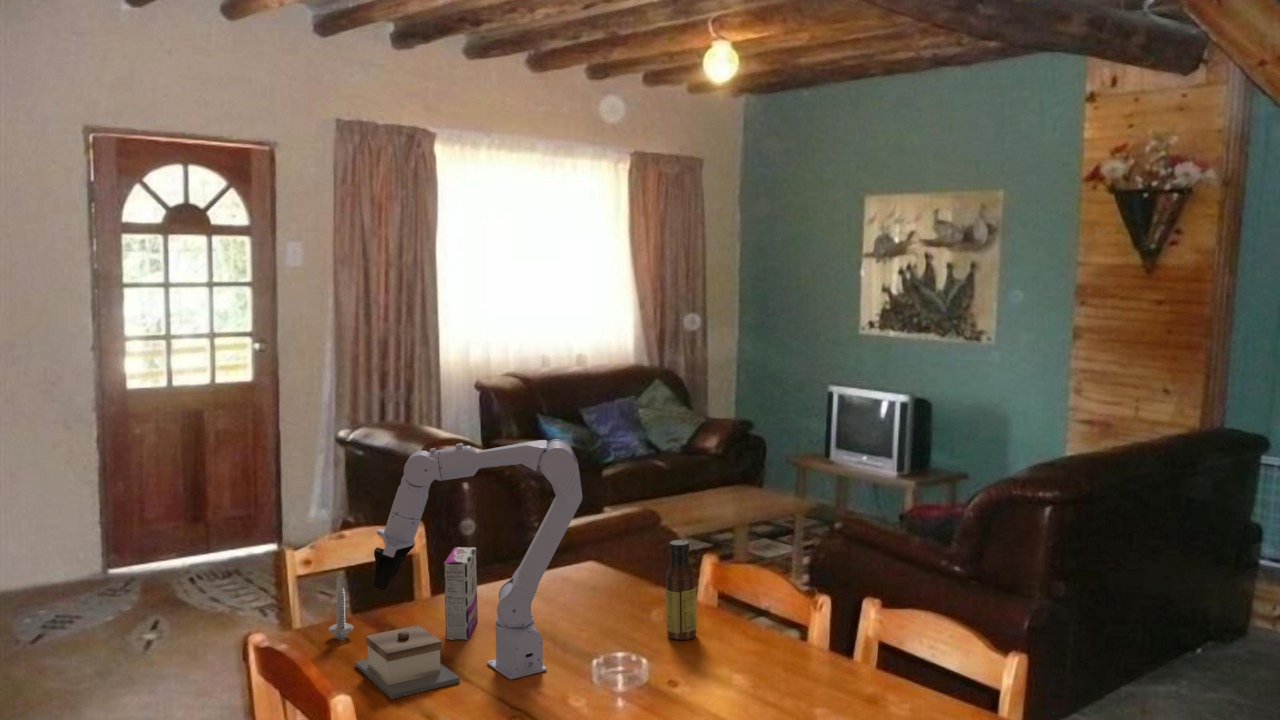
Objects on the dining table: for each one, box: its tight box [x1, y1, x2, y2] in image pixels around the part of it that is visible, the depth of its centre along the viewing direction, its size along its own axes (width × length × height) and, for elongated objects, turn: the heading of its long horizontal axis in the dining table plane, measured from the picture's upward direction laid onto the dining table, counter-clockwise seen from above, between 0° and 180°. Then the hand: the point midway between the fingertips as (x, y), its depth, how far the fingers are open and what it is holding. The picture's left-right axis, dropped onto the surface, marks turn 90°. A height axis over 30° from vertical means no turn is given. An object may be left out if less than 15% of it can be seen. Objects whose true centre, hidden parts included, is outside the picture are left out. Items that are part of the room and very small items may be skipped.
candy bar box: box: [443, 546, 479, 641], centre depth 218 cm, size 11×5×16 cm, turn 179°
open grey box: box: [367, 645, 441, 685], centre depth 195 cm, size 10×10×4 cm
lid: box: [365, 624, 443, 662], centre depth 195 cm, size 10×10×2 cm
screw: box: [328, 575, 354, 641], centre depth 214 cm, size 13×5×5 cm
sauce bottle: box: [665, 539, 698, 641], centre depth 216 cm, size 7×6×20 cm
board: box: [354, 658, 461, 700], centre depth 196 cm, size 18×13×1 cm
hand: (383, 582), depth 196 cm, fingers open, 7 cm apart
